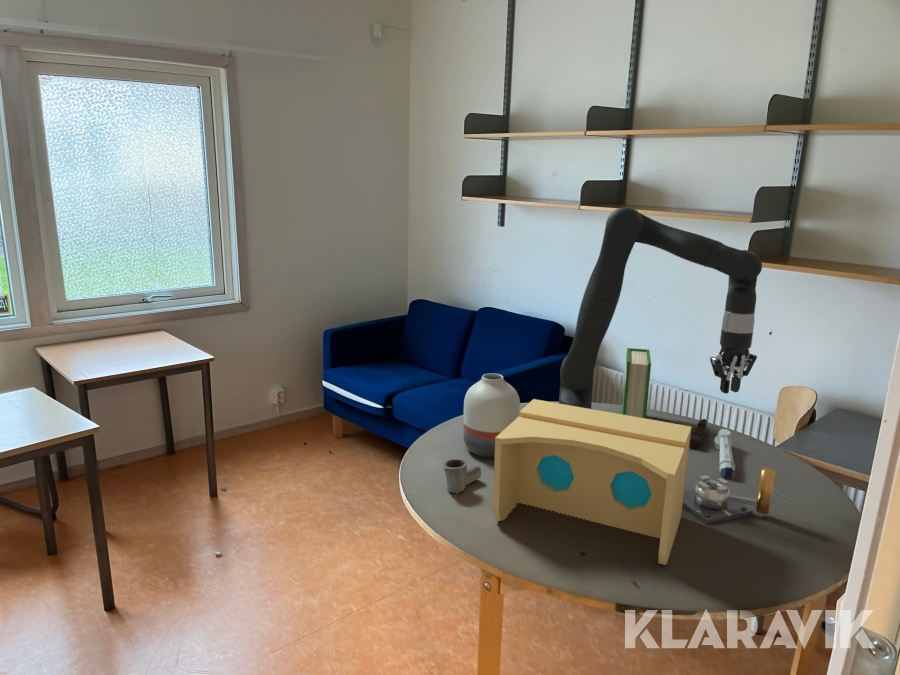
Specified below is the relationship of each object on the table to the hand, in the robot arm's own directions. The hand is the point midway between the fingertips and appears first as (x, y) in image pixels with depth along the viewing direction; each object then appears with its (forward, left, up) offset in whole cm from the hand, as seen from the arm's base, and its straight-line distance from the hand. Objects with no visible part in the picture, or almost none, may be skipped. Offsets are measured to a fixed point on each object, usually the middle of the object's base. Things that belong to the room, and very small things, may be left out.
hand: (729, 391), depth 171 cm
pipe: (-68, +20, -27) cm, 76 cm away
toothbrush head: (+13, +12, -28) cm, 33 cm away
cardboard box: (-44, -6, -27) cm, 52 cm away
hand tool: (+16, +28, -27) cm, 42 cm away
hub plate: (-10, -9, -27) cm, 30 cm away
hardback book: (+4, +46, -27) cm, 54 cm away
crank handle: (-6, -12, -26) cm, 29 cm away
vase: (-51, +40, -27) cm, 70 cm away
